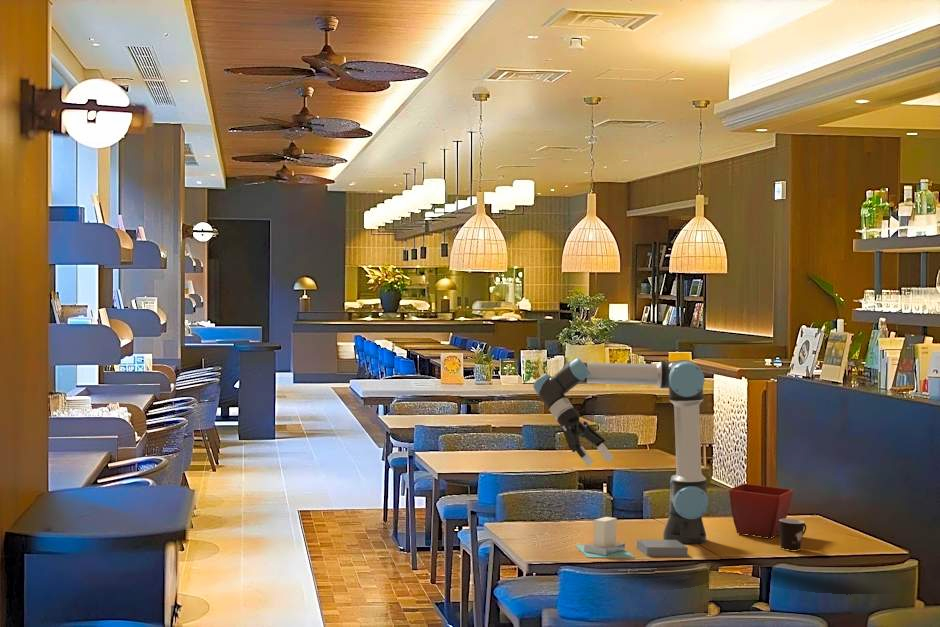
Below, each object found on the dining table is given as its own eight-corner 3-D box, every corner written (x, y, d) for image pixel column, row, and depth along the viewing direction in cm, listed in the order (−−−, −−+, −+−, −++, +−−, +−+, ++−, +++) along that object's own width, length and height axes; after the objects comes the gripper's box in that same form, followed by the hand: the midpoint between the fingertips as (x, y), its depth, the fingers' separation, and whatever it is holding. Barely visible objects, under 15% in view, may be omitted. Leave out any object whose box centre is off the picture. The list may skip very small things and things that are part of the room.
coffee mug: (784, 552, 414) (785, 523, 414) (773, 546, 422) (774, 518, 422) (815, 552, 416) (817, 523, 416) (804, 546, 425) (805, 518, 424)
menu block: (593, 549, 401) (594, 519, 401) (605, 545, 408) (606, 516, 408) (603, 551, 399) (604, 521, 399) (615, 547, 405) (616, 518, 405)
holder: (583, 551, 401) (584, 544, 401) (602, 546, 411) (603, 539, 411) (606, 555, 396) (606, 549, 396) (624, 550, 406) (625, 543, 406)
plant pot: (792, 534, 447) (794, 489, 447) (777, 542, 431) (779, 495, 430) (741, 527, 457) (743, 483, 456) (725, 535, 440) (728, 489, 440)
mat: (575, 545, 411) (575, 544, 411) (620, 546, 413) (620, 545, 413) (587, 557, 393) (587, 556, 393) (634, 558, 396) (634, 557, 396)
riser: (636, 548, 411) (637, 539, 411) (676, 548, 413) (676, 539, 413) (646, 556, 399) (647, 547, 399) (687, 556, 401) (687, 547, 401)
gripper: (552, 409, 404) (588, 458, 395) (590, 404, 424) (626, 451, 415) (538, 423, 407) (574, 472, 398) (577, 418, 427) (612, 465, 418)
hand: (600, 462), depth 407 cm, fingers open, 13 cm apart
